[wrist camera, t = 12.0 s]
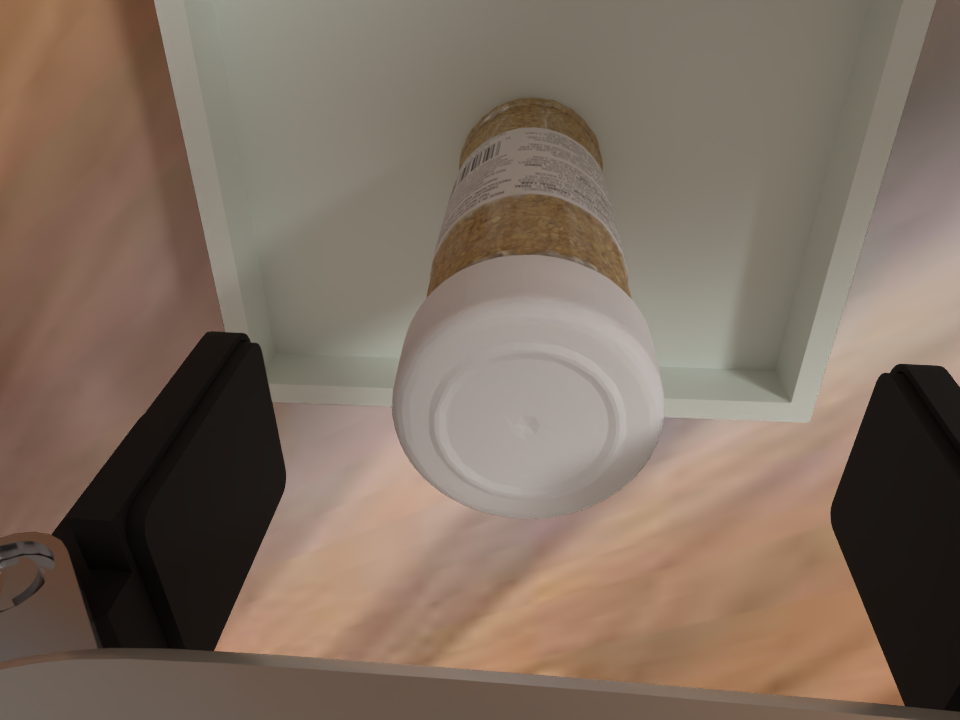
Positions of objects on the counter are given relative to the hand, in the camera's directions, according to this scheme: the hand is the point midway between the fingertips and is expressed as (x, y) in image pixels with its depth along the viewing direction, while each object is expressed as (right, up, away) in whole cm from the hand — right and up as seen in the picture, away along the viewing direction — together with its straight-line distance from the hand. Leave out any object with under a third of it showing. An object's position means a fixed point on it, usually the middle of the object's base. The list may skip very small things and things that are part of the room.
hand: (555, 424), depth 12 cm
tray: (0, +8, +13) cm, 15 cm away
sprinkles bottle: (0, +7, +12) cm, 14 cm away
